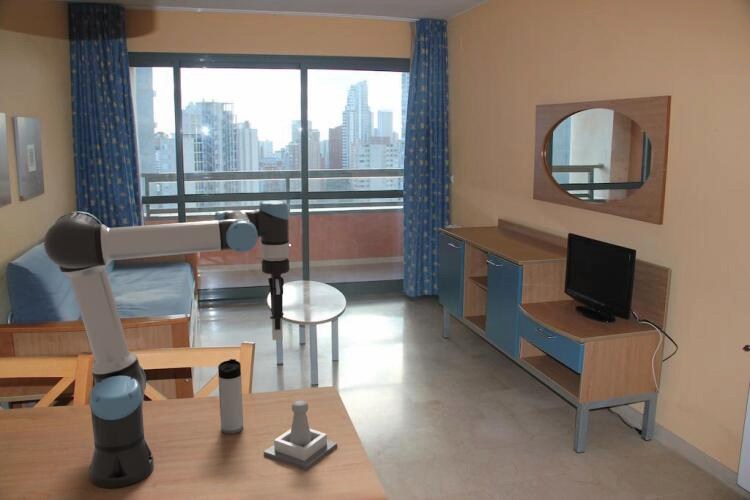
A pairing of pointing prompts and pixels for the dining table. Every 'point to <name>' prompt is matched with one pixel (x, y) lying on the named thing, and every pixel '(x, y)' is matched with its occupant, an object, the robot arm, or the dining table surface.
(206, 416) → the dining table surface
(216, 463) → the dining table surface
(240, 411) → the travel mug
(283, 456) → the socket
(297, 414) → the grey bulb peg
